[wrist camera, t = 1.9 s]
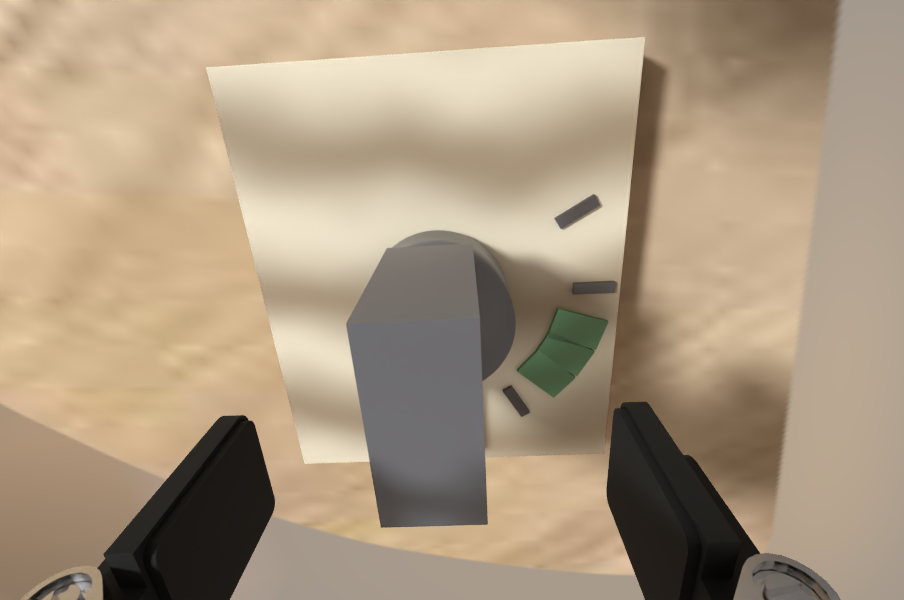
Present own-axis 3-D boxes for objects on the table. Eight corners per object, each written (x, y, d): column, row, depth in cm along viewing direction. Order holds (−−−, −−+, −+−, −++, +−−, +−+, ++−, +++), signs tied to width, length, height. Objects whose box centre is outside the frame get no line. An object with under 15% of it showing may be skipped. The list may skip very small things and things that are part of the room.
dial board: (232, 72, 18) (203, 66, 16) (625, 44, 17) (647, 36, 15) (316, 438, 25) (303, 466, 23) (593, 428, 25) (604, 456, 23)
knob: (362, 229, 18) (280, 326, 10) (506, 221, 18) (547, 314, 10) (392, 442, 22) (353, 633, 14) (509, 438, 22) (538, 630, 14)
